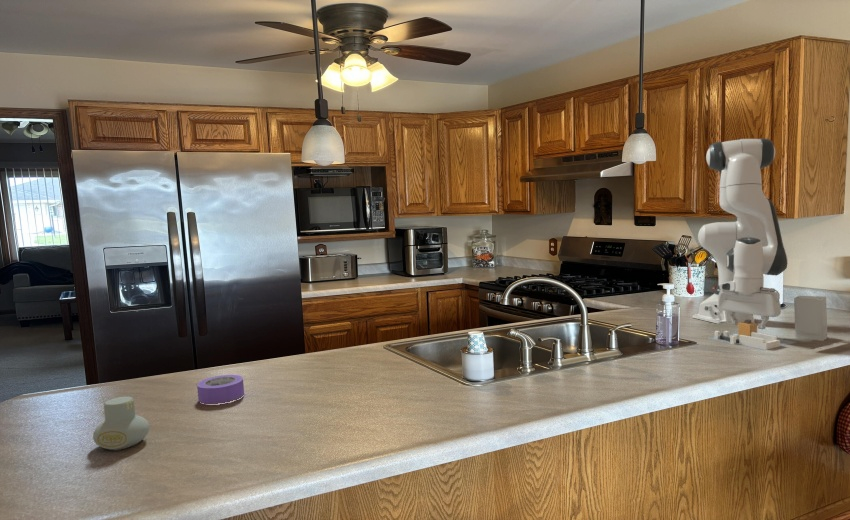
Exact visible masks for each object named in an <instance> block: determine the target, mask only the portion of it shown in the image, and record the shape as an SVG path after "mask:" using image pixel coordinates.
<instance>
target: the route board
mask: <svg viewBox="0 0 850 520" xmlns="http://www.w3.org/2000/svg"><path fill="white" fill-rule="evenodd" d="M713 335H714V336H713V337H709V338H708V337H707V338H706V340H710V341H715V342H719V343H720V342H722V343H726V344H730V345H734V346H739V347H745V348H749V349H754V350H759V351H767V350H771V349H775V348H781V347H784V346H789V345H792V344H796V343H798V341H793V340H789V339H788V340H787V339H783V338H778V336H777V335H771V334H765V333H759V332H757V333H755V332H751V337H750V336H745V335H738V331H737V332H732V333H730V331H728V330H723V332H722V333H721V331H719V330H715V331H714V334H713Z"/></svg>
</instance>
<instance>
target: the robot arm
mask: <svg viewBox="0 0 850 520" xmlns="http://www.w3.org/2000/svg"><path fill="white" fill-rule="evenodd" d="M775 156H776V147H775V145H774V142H773V141H772V140H771V139H769V138H762V137H761V138H740V139H734V140H733V139H731V140H726V141H717V142H713V143H711V144H710V145H709V146H708V149H707V151H706V156H705V160H706V163H707V165H708V168H709V169H711V170H713V171H716V172H719V173H720V180H719V207H720V208H721V210H723V212H724V211H725V212H726V213H729V214H732V215H734V216H735V217H736V221H726V222H725V221H721V222H719V221H717V222H711V223H706V224H703V225H702V226H701V227H700V228H699V231H698V233H697V241H698V243H699V245H700V246H701V247H702V248H703V249H705V250H706V251H707V252H709V254H710V255H711V256H712V257H713V258H714V260H715V263H716V266H717V273H718V274H717V275H718V276H717V277H718V284H717V285H715V286H713V287H712V289H711V290H714V293H713V294H711V296H709V297H707V298H706V299H704V300H703V301H701V302H700V304H699V308H698V312H697V313H694V314H693V315H692V318H693V319H697V320H701V321H705V322H710V323H713V324H724V323H730V324H731V325H733V326H739V323H740V322H745V320H751V322H753V323H756V322H755V318H754V316H759V317H760V319H761V322H759V323H757V330H766V324H767V323H768V321H769V320H770V318H776V317H779V316H780V315H781V313H782V309H781V308H782V307H781V303H780V302H781V301H780V292H779V291H778V290H777V289H776V288H774V287H773V288H772V287H771V288H770V287H769V288H768V287H764V275H765V276H766V275H767V276H775V277H776V276H779V275H780V274H782V273H783V272H784V271H786V270H787V268H788V264H789V263H788V261H789V259H788V255H787V253H786V249H785V246H784V242H783V238H782V234H781V233H782V232H781V228H780V224H779V219H778V215H777V211H776V207H775V204H774V202H773V201H772V200H771V199H768V198H767V197H766V196H765V194H764V191H763V184H762V183H763V181H762V171H761V170H762V169H764V168H767V167H769V166H770V165H772V163H773V161H774V159H775Z"/></svg>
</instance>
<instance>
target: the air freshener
mask: <svg viewBox="0 0 850 520" xmlns="http://www.w3.org/2000/svg"><path fill="white" fill-rule="evenodd" d="M135 406H136V405H135V399H134V398H133V397H132V396H118V397H114V398H113V397H112V398H111V399H108V400H106V401H105V402H103V409H104V411H103V412H104V420H103V421H102V422H101V423H100V424H99V425H97V426H96V428H95V429H94V431H93V434H92V439H93V441H94V443H95V445H97V446H98V447H100V448H102V449H107V450H111V451H121V449H122V450H125V449H128V448H130V447H133V446H136V445H137V444H138V443H140V442H141V441H143V440H144V439H145V438H146V436H147V435H148V433H149V431H150V424H149V422H148V420H147V419H146V418H144V417H143V416H140V415H137V414H136V409H135V408H136V407H135Z"/></svg>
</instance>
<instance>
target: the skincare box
mask: <svg viewBox="0 0 850 520" xmlns="http://www.w3.org/2000/svg"><path fill="white" fill-rule="evenodd" d="M793 302H794V303H793V304H794V305H793V307H794V308H793V309H794V338H795V339H801V340H810V341H820V342H824V341H825V340H827V339H828V321H827V320H828V319H827V316H828V315H827V313H828V312H827V296H821V295H820V296H817V295H816V296H815V295H798V296H795V297H794V299H793Z"/></svg>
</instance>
